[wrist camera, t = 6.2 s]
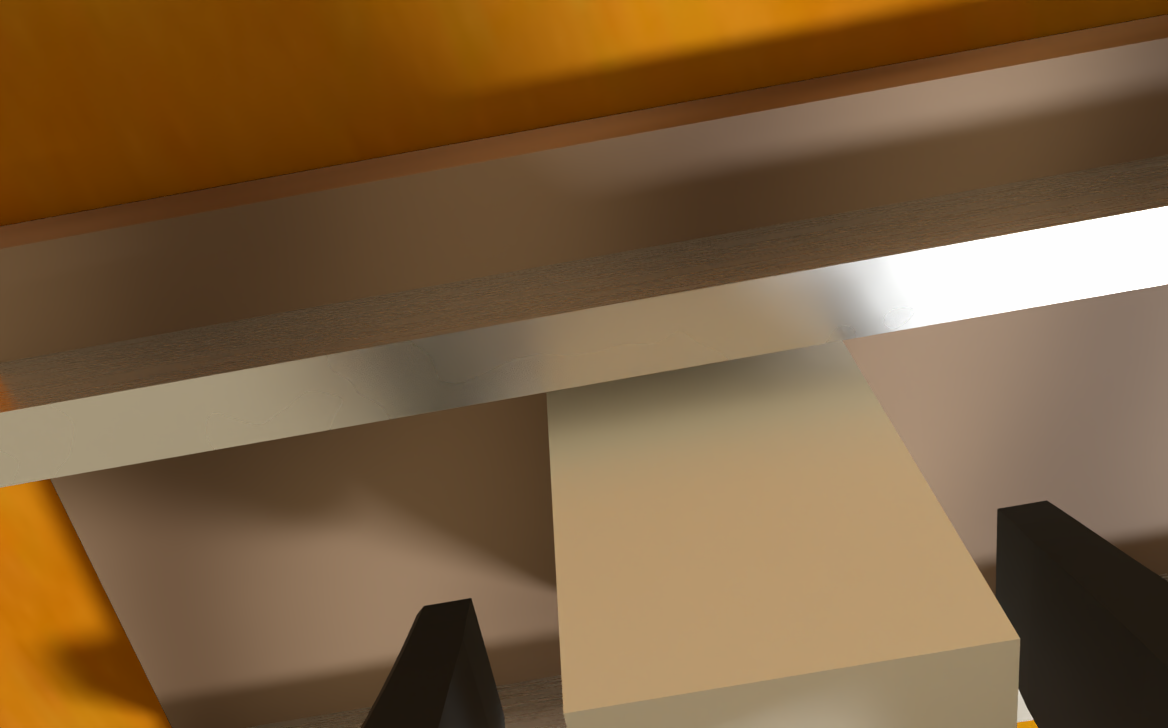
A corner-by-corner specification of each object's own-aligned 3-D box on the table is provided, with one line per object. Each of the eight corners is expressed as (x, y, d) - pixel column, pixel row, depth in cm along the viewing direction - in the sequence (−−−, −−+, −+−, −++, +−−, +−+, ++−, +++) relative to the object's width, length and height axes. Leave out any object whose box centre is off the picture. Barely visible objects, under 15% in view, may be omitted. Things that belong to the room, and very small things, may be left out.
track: (1342, -18, 14) (1501, 18, 12) (1238, 628, 19) (1333, 738, 17) (-22, 230, 14) (-121, 310, 12) (240, 793, 19) (205, 921, 17)
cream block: (836, 330, 15) (1019, 637, 9) (849, 561, 16) (1009, 926, 11) (545, 380, 15) (563, 712, 9) (592, 604, 17) (628, 985, 11)
